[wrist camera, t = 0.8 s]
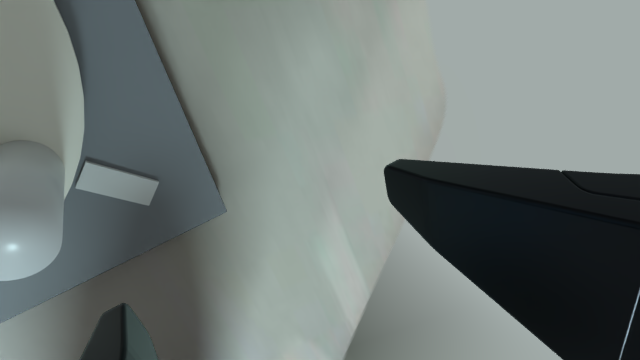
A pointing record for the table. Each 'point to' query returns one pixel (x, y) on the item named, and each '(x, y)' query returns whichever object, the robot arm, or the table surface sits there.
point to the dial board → (120, 157)
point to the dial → (36, 133)
